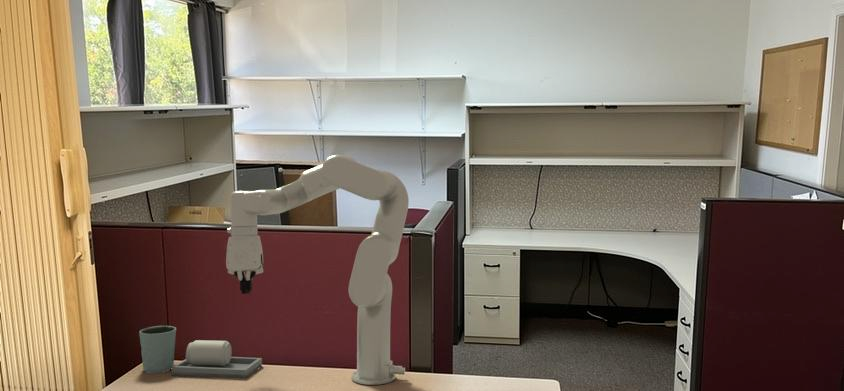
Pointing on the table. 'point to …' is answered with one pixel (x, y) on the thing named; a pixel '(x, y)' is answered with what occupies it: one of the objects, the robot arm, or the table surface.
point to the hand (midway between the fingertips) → (246, 293)
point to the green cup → (157, 348)
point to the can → (209, 353)
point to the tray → (219, 368)
